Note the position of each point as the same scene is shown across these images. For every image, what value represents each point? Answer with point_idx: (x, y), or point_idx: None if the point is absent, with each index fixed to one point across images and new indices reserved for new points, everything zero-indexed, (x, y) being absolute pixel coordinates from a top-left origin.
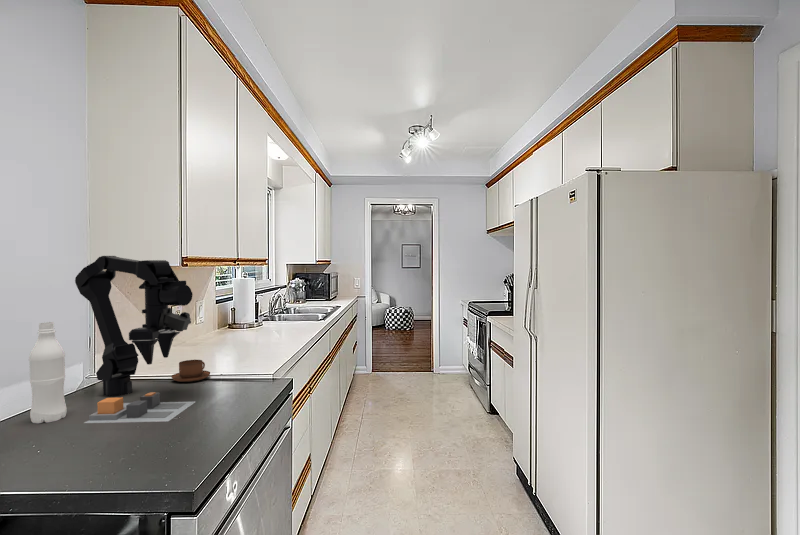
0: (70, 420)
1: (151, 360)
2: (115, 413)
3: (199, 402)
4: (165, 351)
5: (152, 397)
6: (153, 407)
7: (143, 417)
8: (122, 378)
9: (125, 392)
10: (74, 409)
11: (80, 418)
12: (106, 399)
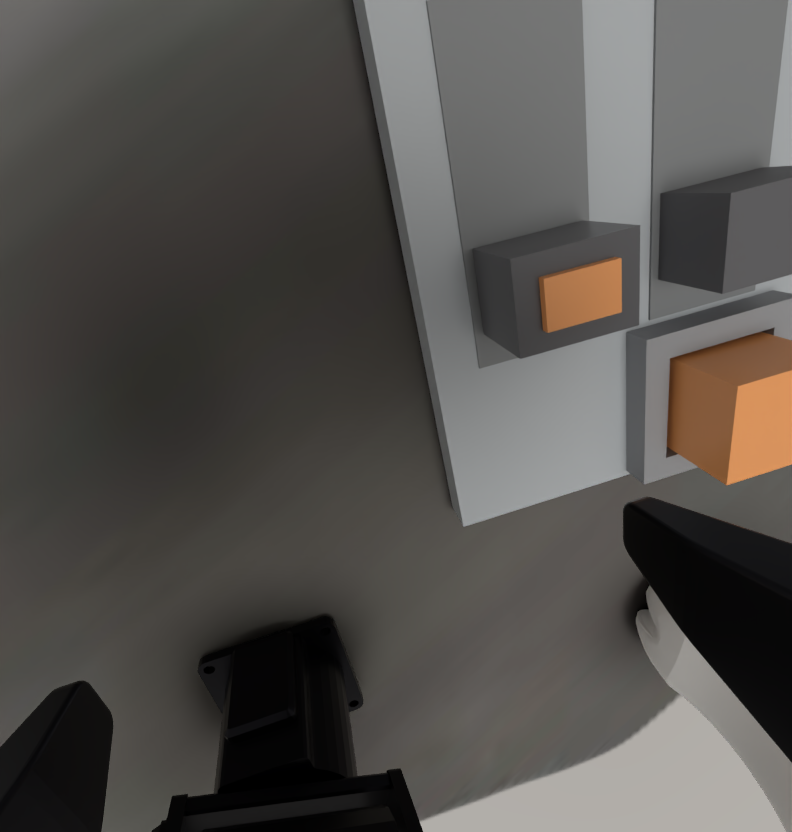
0: (630, 569)
1: (707, 516)
2: (770, 326)
3: (197, 12)
4: (46, 828)
5: (632, 225)
6: (571, 223)
7: (767, 131)
8: (312, 762)
9: (295, 660)
10: (484, 685)
11: (606, 556)
12: (765, 457)
